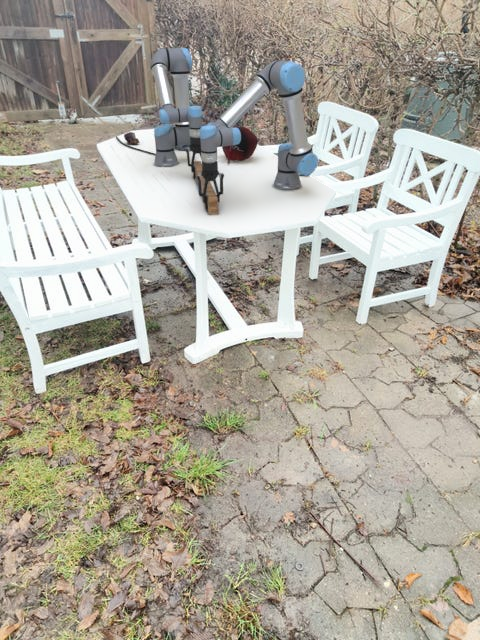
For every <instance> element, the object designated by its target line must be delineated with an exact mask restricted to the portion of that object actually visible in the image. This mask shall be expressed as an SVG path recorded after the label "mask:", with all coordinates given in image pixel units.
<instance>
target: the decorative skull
mask: <svg viewBox="0 0 480 640" xmlns="http://www.w3.org/2000/svg"><path fill="white" fill-rule="evenodd" d="M233 128H238V129H239V130H240V133H241V141H240V143H239V144H237V145H231V146H222V147H221V148H222V152H223V154H224V156H225V159H226V160H227V164H228V165H229V164H230V161H232V162H244V161H246V160H248V159H250V158H251V157H252V156H253V155H254V153H255V152H256V149H257V146H258V143H259V142H258V141H259V140H258V137H257V135H256V134H255V133H254V132H253V131H252V130H250V129H249V128H248V127H244V126H233Z"/></svg>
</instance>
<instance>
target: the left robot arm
mask: <svg viewBox="0 0 480 640" xmlns="http://www.w3.org/2000/svg"><path fill="white" fill-rule="evenodd" d="M149 67H150V73H151V75H152V76H153V78H154V83H155V87H156V91H157V96H158V100H159V105H160V109H159V110H158V119H159V122H160V125H158V126H157V125H156V127H155V128H154V129H153V136H154V142H155V143H154V145H155V153H154V152H150V151H148V150H144V149H140V148H137V147H133V146H131V145H129V144H126V143H124V142H123V141H121V140H120V139H119V137H118V136H117V135H116V136H115V138H116V139H117V141H118V142H119V143H120V144H122V145H123V146H125V147H128V148H130V149H132V150H137V151H140V152H143V153H147V154H150V155H154V165H155V166H157V167H163V168H164V167H165V168H167V167H168V168H169V167H174V166H177V165H178V164H179V159H178V157H177V153H176V151H175V147H174V146H184V145H188V146H189V145H190V147H189V148H186V150H185V151H186V160H187V166H188V167H190V171H191V173H192V174H193V179H194V180H195V167H194V166H193V165H194V161H195V159H196V155H199V156H200V159H201V141H200V128H201V127H202V126H203V109H202V107H201V106H200V105H190V90H189V76H190V75H191V71H192V70H193V60H192V56H191V53H190V50H189V49H188V48H186V47H171V48H170V47H169V48H160V49H158V50H157V51H155V52H154V54H153V55H152V58H151V60H150V66H149ZM169 72H170V76H171V77H172V78H173V88H174V98H175V99H173V95H172V90H171V87H170V82H169V78H168V73H169ZM174 100H175V103H174ZM172 124H174V126H173V125H172ZM190 149H191V150H190ZM190 151H191V152H192V156H191V158H190ZM200 161H202V159H201V160H200Z"/></svg>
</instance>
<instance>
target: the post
mask: <svg viewBox="0 0 480 640" xmlns="http://www.w3.org/2000/svg"><path fill="white" fill-rule="evenodd" d="M193 166H194V167H195V179H194V180H195V182H196V184H197V186H198V179H197V177H196V175H200V174H201V172H202V160H198V161H197V160H196V161H195V160H194V165H193ZM200 180H201V190H202V193H203V188H204V183H205V179H204V178H203V176H202V177H201V179H200ZM206 196H207V206H208V210H207V213H208V215H209V216H210V215H219V202H218V197H217V193H216V190H215V188H214V186H213V184H212V183H211V181H209V182H208V185H207V191H206ZM201 197H202V196H201ZM202 199H203V197H202Z"/></svg>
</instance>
